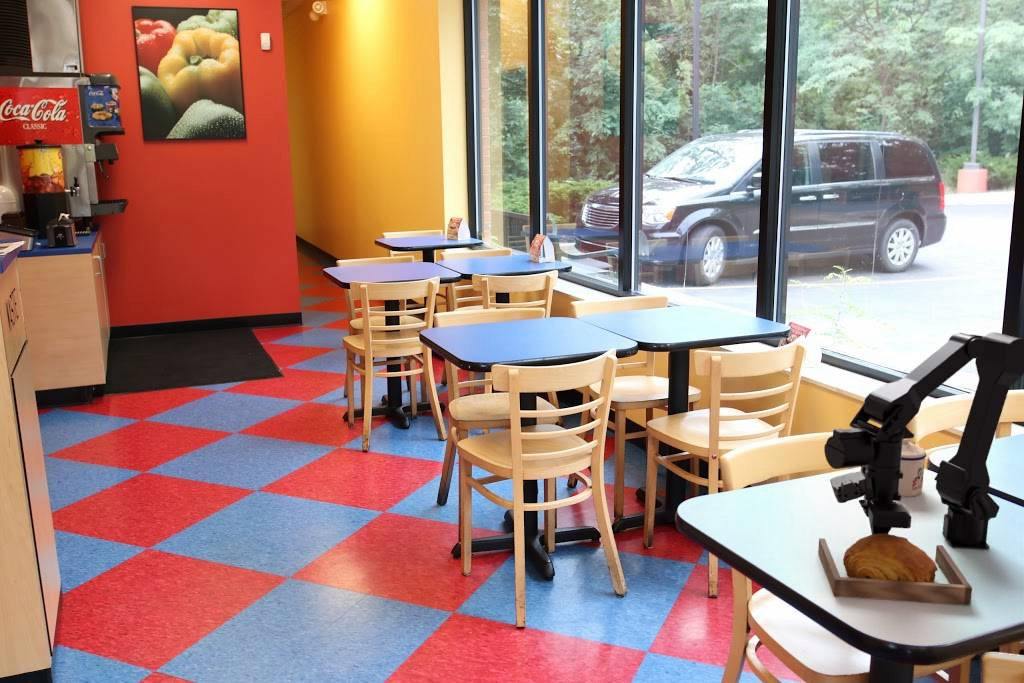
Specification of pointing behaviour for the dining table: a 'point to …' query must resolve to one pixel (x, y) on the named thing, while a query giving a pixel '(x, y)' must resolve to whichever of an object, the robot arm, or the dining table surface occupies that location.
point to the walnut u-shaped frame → (900, 583)
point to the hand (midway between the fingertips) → (876, 544)
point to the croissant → (888, 560)
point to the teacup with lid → (911, 469)
